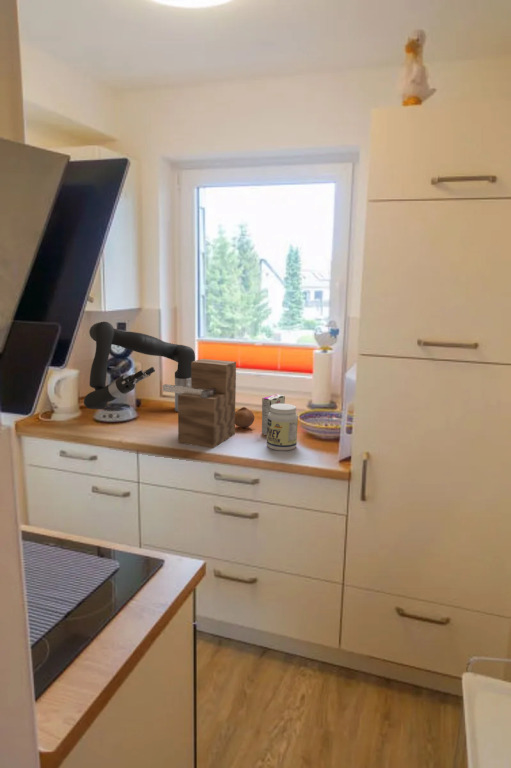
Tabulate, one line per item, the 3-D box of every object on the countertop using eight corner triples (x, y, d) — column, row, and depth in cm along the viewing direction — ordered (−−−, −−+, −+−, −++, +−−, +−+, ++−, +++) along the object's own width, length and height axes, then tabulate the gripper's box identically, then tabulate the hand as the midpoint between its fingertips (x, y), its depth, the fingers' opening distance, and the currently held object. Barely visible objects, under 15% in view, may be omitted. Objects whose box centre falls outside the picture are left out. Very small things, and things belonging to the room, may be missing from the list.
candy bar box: (275, 428, 231) (276, 393, 228) (284, 430, 228) (285, 395, 225) (260, 434, 223) (261, 397, 219) (269, 436, 220) (271, 399, 216)
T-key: (169, 388, 215) (169, 383, 214) (215, 394, 207) (216, 388, 207) (159, 392, 208) (159, 386, 207) (206, 398, 200) (207, 392, 199)
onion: (240, 432, 224) (240, 410, 222) (229, 427, 232) (229, 406, 230) (258, 429, 229) (258, 408, 227) (246, 424, 237) (247, 403, 235)
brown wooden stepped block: (202, 429, 227) (202, 358, 221) (234, 434, 221) (236, 361, 215) (178, 442, 208) (177, 365, 202) (213, 448, 202) (214, 369, 196)
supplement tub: (260, 446, 206) (261, 405, 203) (280, 440, 215) (282, 401, 212) (282, 453, 198) (284, 411, 195) (302, 447, 206) (304, 406, 203)
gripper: (107, 381, 216) (134, 365, 209) (127, 375, 229) (153, 360, 222) (115, 397, 216) (143, 381, 209) (134, 390, 229) (161, 375, 222)
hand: (148, 370), depth 216 cm, fingers open, 8 cm apart
